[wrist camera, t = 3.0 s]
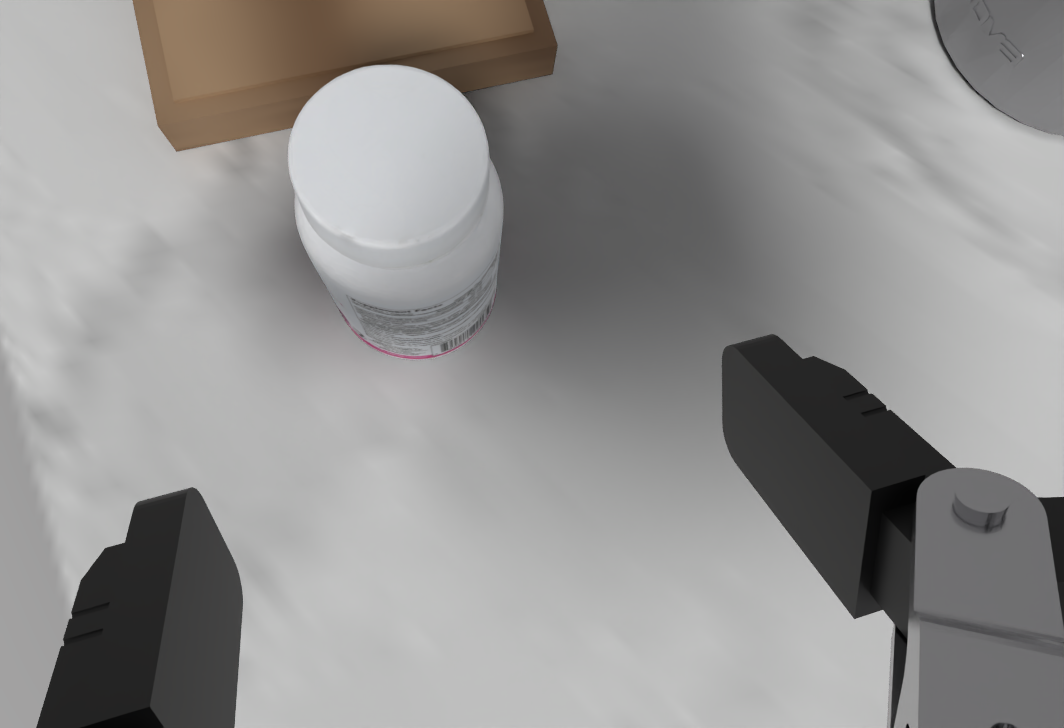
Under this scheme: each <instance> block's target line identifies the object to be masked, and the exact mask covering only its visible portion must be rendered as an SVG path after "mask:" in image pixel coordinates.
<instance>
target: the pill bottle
mask: <svg viewBox="0 0 1064 728" xmlns="http://www.w3.org/2000/svg"><path fill="white" fill-rule="evenodd" d="M288 168H289V175H290V179H291V182H292V185H293V188H294V191H295V197H294V211H295V219H296V224H297V229H298V232H299V235H300V238H301V241H302V243H303V246H304V248H305V250H306V252H307V254H308V256H309V258H310V260H311V261H312V263H313V265H314V267H315V269H316V270H317V272H318V274H319V276H320V278H321V279H322V281H323V282H324V284H325V286H326V288H327V289H328V291H329V293H330V295H331V297H332V298H333V300H334V302H335V304H336V305H337V307H338V309H339V311H340V312H341V314H342V316H343V318H344V319H345V321H346V322H347V324H348V325H349V327H350V328H351V329H352V330H353V332H354V333H355V334H356V335H357V336H358V337H359V338H360V339H361V340H362V341H363V342H365V343H366V344H367V345H369V346H370V347H371V348H373V349H375V350H377V351H379V352H381V353H383V354H386V355H389V356H392V357H396V358H401V359H406V360H427V359H434V358H438V357H441V356H444V355H447V354H449V353H451V352H454V351H456V350H457V349H459V348H461V347H462V346H464V345H465V344H466V343H468V342H469V341H470V340H471V339H472V338H473V337H474V336H475V335H476V334H477V333H478V332H479V331H480V330H481V328H482V327H483V326H484V324H485V322H486V321H487V319H488V317H489V315H490V312H491V310H492V307H493V304H494V301H495V296H496V290H497V274H498V264H499V255H500V246H501V237H502V227H503V214H504V203H503V194H502V188H501V183H500V179H499V176H498V174H497V171H496V169H495V167H494V164H493V162H492V161H491V159H490V157H489V146H488V140H487V136H486V132H485V129H484V126H483V124H482V122H481V120H480V117H479V116H478V114H477V112H476V111H475V109H474V107H473V106H472V105H471V103H470V102H469V101H468V100H467V98H466V97H465V96H464V95H463V94H462V93H461V92H460V91H459V90H457V89H456V88H455V87H454V86H452V85H451V84H450V83H448V82H447V81H445V80H444V79H442V78H440V77H438V76H436V75H434V74H432V73H429V72H427V71H424V70H421V69H417V68H414V67H409V66H403V65H391V64H390V65H372V66H366V67H362V68H358V69H355V70H352V71H350V72H347V73H345V74H343V75H341V76H338V77H336V78H335V79H333V80H332V81H330V82H329V83H327V84H326V85H324V86H323V87H322V88H321V89H320V90H319V91H317V92H316V93H315V94H314V95H313V96H312V97H311V98H310V99H309V101H308V102H307V103H306V104H305V106H304V107H303V108H302V110H301V112H300V113H299V115H298V117H297V118H296V121H295V123H294V126H293V128H292V131H291V135H290V138H289V145H288Z"/></svg>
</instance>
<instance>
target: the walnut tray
mask: <svg viewBox="0 0 1064 728" xmlns="http://www.w3.org/2000/svg"><path fill="white" fill-rule="evenodd" d="M133 5H134V10H135V15H136V20H137V25H138V30H139V35H140V40H141V45H142V50H143V54H144V59H145V64H146V69H147V74H148V79H149V84H150V89H151V94H152V99H153V104H154V109H155V114H156V119H157V124H158V127H159V128H160V130H161V131H162V132H163V134H164V135H165V136H166V138H167V139H168V140H169V142H170V143H171V145H172V146H173V147H174V149H175V150H176V151H182V150H187V149H191V148H196V147H201V146H206V145H211V144H216V143H220V142H225V141H230V140H235V139H240V138H245V137H250V136H254V135H259V134H264V133H269V132H274V131H279V130H283V129H288V128H293V126H294V123H295V121H296V118H297V117H298V115H299V113H300V112H301V110H302V108H303V107H304V106H305V104H306V103H307V102H308V101H309V99H310V98H311V97H312V96H313V95H314V94H315V93H316V92H317V91H319V90H320V89H321V88H322V87H323V86H324V85H326V84H327V83H329V82H330V81H332V80H333V79H335V78H336V77H338V76H341V75H343V74H345V73H347V72H350V71H352V70H355V69H358V68H362V67H366V66H372V65H390V64H391V65H403V66H409V67H414V68H417V69H421V70H424V71H427V72H429V73H432V74H434V75H436V76H438V77H440V78H442V79H444V80H445V81H447V82H448V83H450V84H451V85H452V86H454V87H455V88H456V89H457V90H459V91H460V92H461V93H463V92H468V91H473V90H477V89H482V88H487V87H492V86H497V85H502V84H507V83H511V82H516V81H521V80H526V79H531V78H536V77H540V76H545V75H550V74H553V68H554V63H555V57H556V51H557V46H558V45H557V42H556V39H555V36H554V33H553V30H552V27H551V24H550V21H549V17H548V14H547V11H546V8H545V5H544V2H543V0H133Z"/></svg>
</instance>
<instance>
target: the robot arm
mask: <svg viewBox="0 0 1064 728" xmlns="http://www.w3.org/2000/svg"><path fill="white" fill-rule="evenodd" d="M934 3H935V14H936V21H937V24H938V27H939V31H940V34H941V37H942V40H943V43H944V45H945V47H946V49H947V51H948V53H949V54H950V56H951V58H952V60H953V62H954V63H955V65H956V67H957V68H958V70H959V71H960V72H961V73H962V75H963V76H964V77H965V78H966V79H967V81H968V82H969V83H970V84H971V85H972V87H973V88H974V89H975V90H976V91H977V92H978V93H980V94H981V95H982V96H983V97H984V98H985V99H987V100H988V101H989V102H990V103H991V104H993V105H994V106H995V107H996V108H997V109H999V110H1001V111H1002V112H1004V113H1006V114H1007V115H1009V116H1011V117H1013V118H1014V119H1016V120H1018V121H1019V122H1021V123H1023V124H1026V125H1028V126H1031V127H1034V128H1036V129H1039V130H1042V131H1045V132H1047V133H1050V134H1056V135H1062V136H1064V0H934ZM722 421H723V432H724V437H725V441H726V444H727V447H728V450H729V452H730V454H731V456H732V458H733V460H734V462H735V463H736V464H737V466H738V467H739V468H740V470H741V471H742V472H743V474H744V475H745V476H746V478H747V479H748V480H749V482H750V483H751V484H752V485H753V487H754V488H755V489H756V491H757V492H758V493H759V495H760V496H761V497H762V499H763V500H764V501H765V502H766V504H767V505H768V506H769V508H770V509H771V510H772V512H773V513H774V514H775V516H776V517H777V518H778V520H779V521H780V522H781V523H782V525H783V526H784V527H785V529H786V530H787V531H788V533H789V534H790V535H791V537H792V538H793V539H794V541H795V542H796V543H797V544H798V546H799V547H800V548H801V550H802V551H803V552H804V554H805V555H806V556H807V558H808V559H809V560H810V561H811V563H812V564H813V565H814V567H815V568H816V569H817V571H818V572H819V573H820V575H821V576H822V577H823V579H824V580H825V581H826V582H827V584H828V585H829V586H830V588H831V589H832V590H833V592H834V593H835V594H836V596H837V597H838V598H839V599H840V601H841V602H842V603H843V605H844V606H845V607H846V609H847V610H848V611H849V613H850V614H851V615H852V617H853V618H854V619H856V618H859V617H862V616H865V615H868V614H871V613H874V612H877V611H880V610H884V611H885V613H886V614H887V615H888V616H889V618H890V619H891V620H892V621H893V622H894V626H893V632H892V638H891V657H890V677H889V696H888V716H887V728H1064V497H1050V498H1037V497H1036V496H1035V495H1034V494H1033V493H1032V492H1031V491H1030V490H1028V489H1027V488H1026V487H1024V486H1023V485H1021V484H1020V483H1018V482H1016V481H1014V480H1012V479H1010V478H1008V477H1006V476H1003V475H1001V474H998V473H994V472H991V471H987V470H981V469H974V468H956V467H955V466H954V465H952V464H951V463H950V462H949V461H948V460H947V459H946V458H945V457H943V456H942V455H941V454H940V453H939V452H938V451H937V450H935V449H934V448H933V447H932V446H931V445H930V444H929V443H928V442H926V441H925V440H924V439H923V438H922V437H921V436H920V435H918V434H917V433H916V432H915V431H914V430H913V429H912V428H910V427H909V426H908V425H907V424H906V423H905V422H904V421H903V420H901V419H900V418H899V417H898V416H897V415H896V414H895V413H893V412H892V411H891V410H888V411H887V409H886V405H884V404H883V403H882V402H881V401H880V400H879V399H878V398H876V397H875V396H874V395H873V394H869V393H868V390H867V389H866V388H865V387H864V386H863V385H862V384H861V383H859V382H858V381H857V380H856V379H855V378H854V377H853V376H852V375H850V374H849V373H848V372H847V371H846V370H844V369H842V368H840V367H837V366H835V365H833V364H830V363H828V362H826V361H824V360H821V359H819V358H817V357H814V356H812V357H809V358H805V359H802V358H801V357H800V356H799V355H798V354H796V353H795V352H794V351H793V350H792V349H791V348H790V347H789V346H788V345H787V344H786V343H785V342H784V341H783V340H781V339H780V338H779V337H778V336H776V335H773V334H771V335H767V336H763V337H759V338H756V339H752V340H748V341H744V342H741V343H737V344H733V345H729V346H727V347H726V348H725V349H724V352H723V356H722ZM242 609H243V595H242V587H241V581H240V577H239V573H238V570H237V567H236V564H235V562H234V559H233V557H232V555H231V553H230V551H229V549H228V547H227V545H226V543H225V541H224V539H223V537H222V535H221V533H220V531H219V529H218V527H217V525H216V523H215V521H214V519H213V517H212V515H211V513H210V511H209V509H208V507H207V505H206V503H205V501H204V499H203V497H202V496H201V494H200V493H199V491H198V490H197V489H195V488H193V487H192V488H188V489H184V490H181V491H177V492H173V493H169V494H166V495H162V496H158V497H154V498H151V499H147V500H143V501H139V502H138V503H136V505H135V507H134V510H133V513H132V517H131V521H130V525H129V529H128V533H127V537H126V541H125V543H122V544H119V545H115V546H111V547H108V548H105V549H104V551H103V552H102V553H101V555H100V556H99V557H98V559H97V560H96V561H95V563H94V564H93V565H92V566H91V568H90V569H89V570H88V572H87V573H86V574H85V576H84V577H83V578H82V580H81V582H80V585H79V589H78V592H77V595H76V599H75V602H74V605H73V609H72V612H71V613H72V619H69V622H68V625H67V628H66V632H65V635H64V638H63V640H64V646H62V647H61V648H60V651H59V655H58V658H57V661H56V665H55V668H54V671H53V674H52V678H51V681H50V684H49V688H48V691H47V694H46V698H45V701H44V704H43V707H42V711H41V714H40V717H39V721H38V724H37V727H36V728H234V725H235V710H236V696H237V682H238V667H239V653H240V638H241V624H242Z"/></svg>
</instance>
